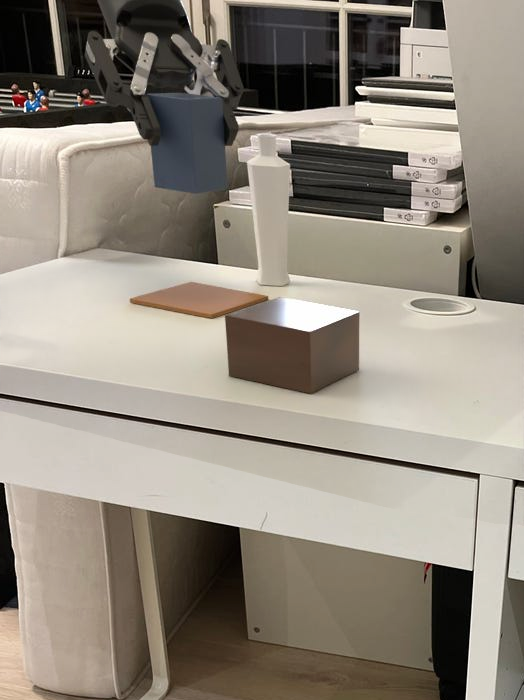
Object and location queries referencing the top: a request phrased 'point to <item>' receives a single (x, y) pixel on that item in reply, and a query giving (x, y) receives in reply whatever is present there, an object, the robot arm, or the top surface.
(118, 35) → the robot arm
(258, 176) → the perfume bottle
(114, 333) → the top surface
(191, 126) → the top block
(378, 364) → the top surface
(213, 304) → the cork mat
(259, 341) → the base block
